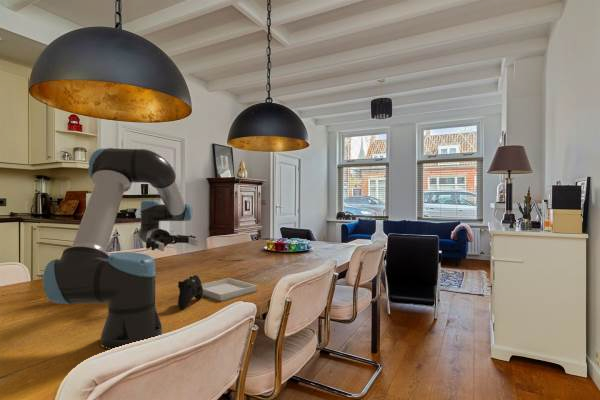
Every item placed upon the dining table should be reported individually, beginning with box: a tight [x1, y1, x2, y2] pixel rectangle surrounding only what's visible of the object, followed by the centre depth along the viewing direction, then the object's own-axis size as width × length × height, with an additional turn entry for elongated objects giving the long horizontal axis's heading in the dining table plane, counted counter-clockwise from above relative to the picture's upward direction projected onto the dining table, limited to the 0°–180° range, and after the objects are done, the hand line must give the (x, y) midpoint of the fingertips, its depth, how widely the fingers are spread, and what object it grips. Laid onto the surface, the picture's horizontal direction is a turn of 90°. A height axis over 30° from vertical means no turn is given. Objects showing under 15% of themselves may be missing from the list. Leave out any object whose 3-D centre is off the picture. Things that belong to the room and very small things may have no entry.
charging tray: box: [201, 277, 258, 302], centre depth 139 cm, size 18×19×2 cm
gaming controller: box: [177, 274, 204, 310], centre depth 123 cm, size 14×6×10 cm, turn 168°
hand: (180, 245), depth 129 cm, fingers open, 13 cm apart
